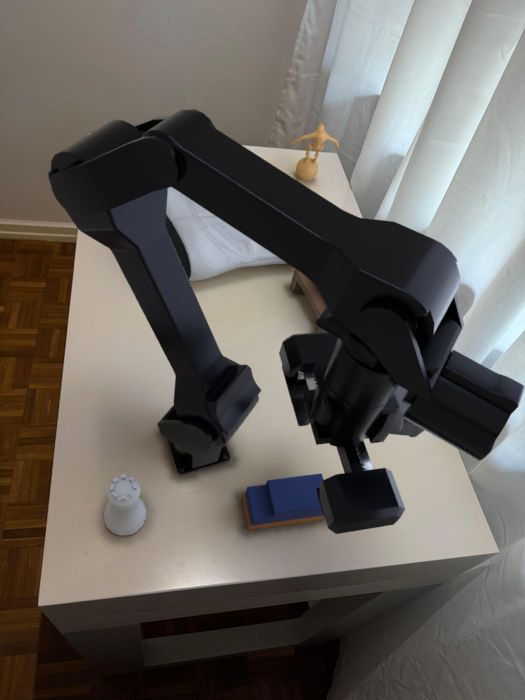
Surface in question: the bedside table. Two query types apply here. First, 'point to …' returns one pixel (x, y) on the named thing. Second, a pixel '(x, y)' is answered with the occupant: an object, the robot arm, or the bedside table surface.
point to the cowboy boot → (209, 240)
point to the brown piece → (308, 292)
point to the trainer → (283, 502)
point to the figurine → (308, 165)
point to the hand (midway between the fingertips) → (314, 464)
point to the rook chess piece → (124, 506)
